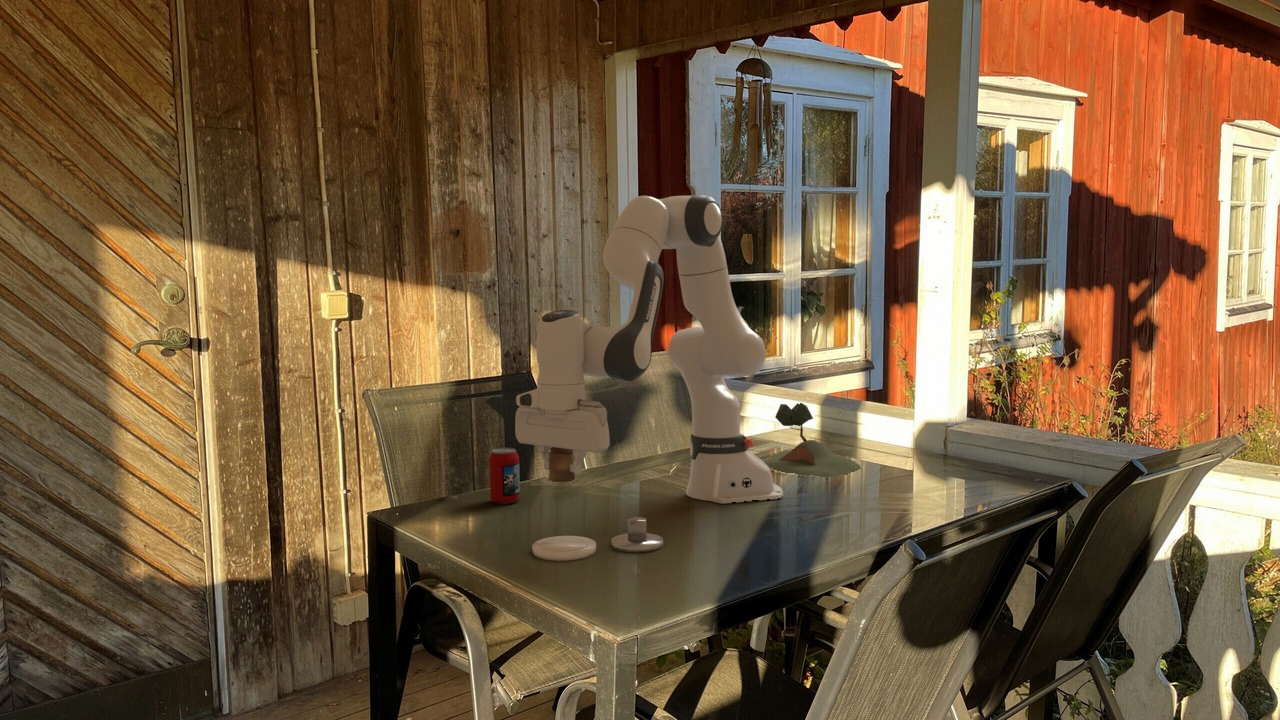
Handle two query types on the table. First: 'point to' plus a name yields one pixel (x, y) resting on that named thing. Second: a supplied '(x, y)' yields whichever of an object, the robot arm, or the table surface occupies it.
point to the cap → (560, 465)
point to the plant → (807, 450)
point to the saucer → (564, 548)
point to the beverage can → (504, 475)
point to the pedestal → (637, 538)
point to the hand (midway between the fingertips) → (562, 471)
